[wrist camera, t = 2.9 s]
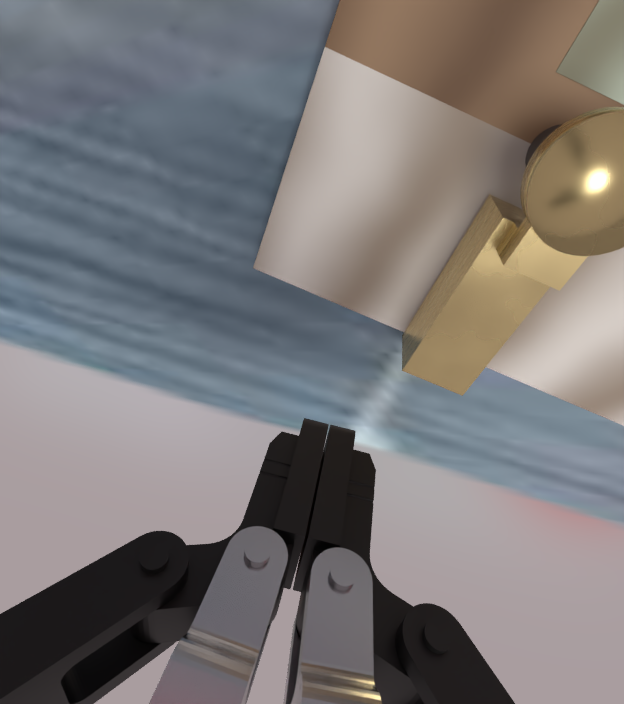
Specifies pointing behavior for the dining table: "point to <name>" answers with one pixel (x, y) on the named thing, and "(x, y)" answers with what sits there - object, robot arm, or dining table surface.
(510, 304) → the latch bar
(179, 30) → the dining table surface
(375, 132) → the door board
